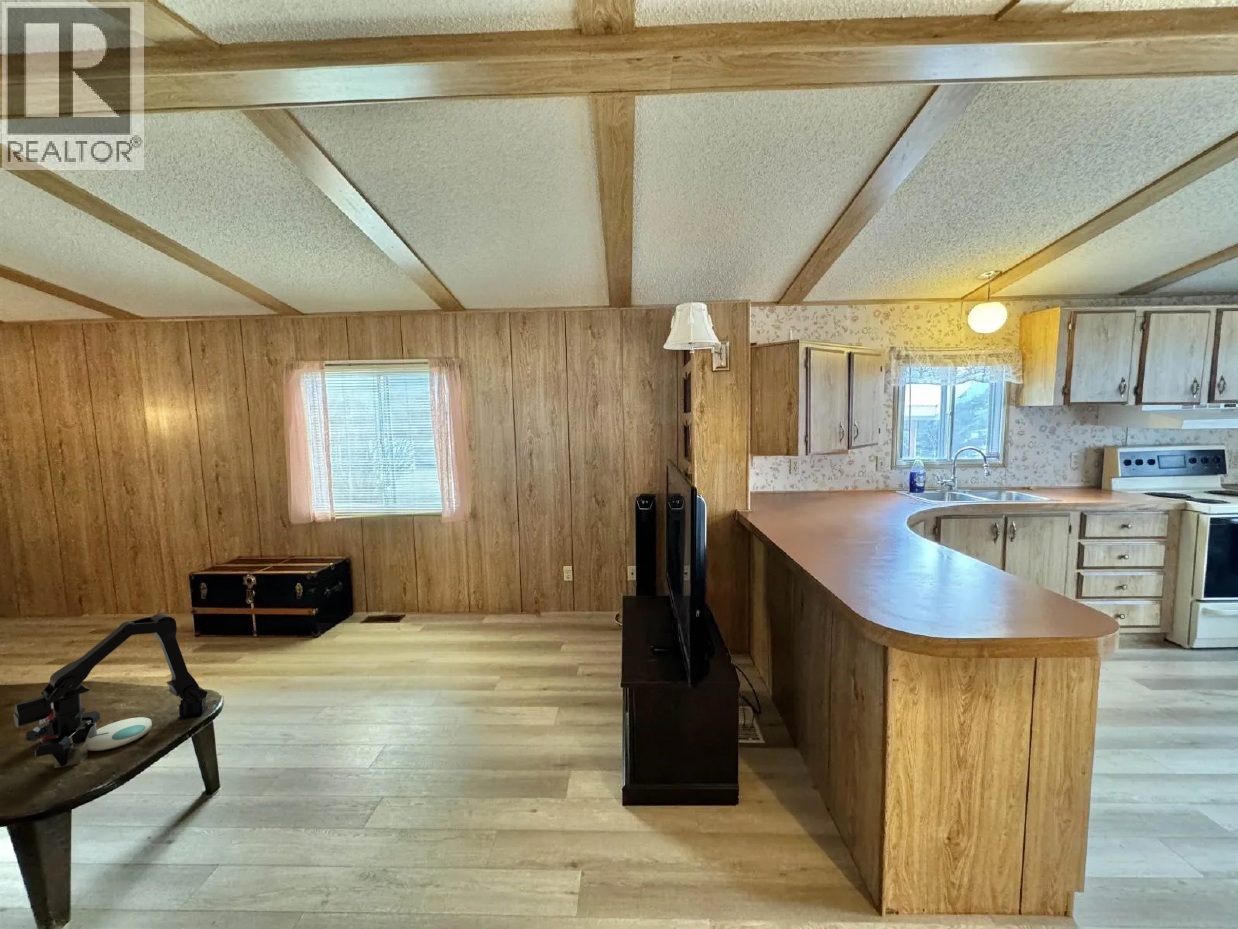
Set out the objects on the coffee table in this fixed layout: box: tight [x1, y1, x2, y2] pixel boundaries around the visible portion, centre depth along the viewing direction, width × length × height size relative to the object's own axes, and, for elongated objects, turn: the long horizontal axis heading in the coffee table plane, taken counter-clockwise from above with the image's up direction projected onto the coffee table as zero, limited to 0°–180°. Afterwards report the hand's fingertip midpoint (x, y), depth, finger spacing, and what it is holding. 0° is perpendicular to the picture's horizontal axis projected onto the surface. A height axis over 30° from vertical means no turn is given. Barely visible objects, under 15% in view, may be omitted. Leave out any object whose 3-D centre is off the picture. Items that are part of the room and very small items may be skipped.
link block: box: [53, 742, 89, 769], centre depth 154 cm, size 6×4×5 cm, turn 111°
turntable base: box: [97, 737, 141, 752], centre depth 165 cm, size 17×13×1 cm
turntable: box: [86, 716, 153, 752], centre depth 165 cm, size 16×16×6 cm
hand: (71, 758), depth 154 cm, fingers open, 6 cm apart
